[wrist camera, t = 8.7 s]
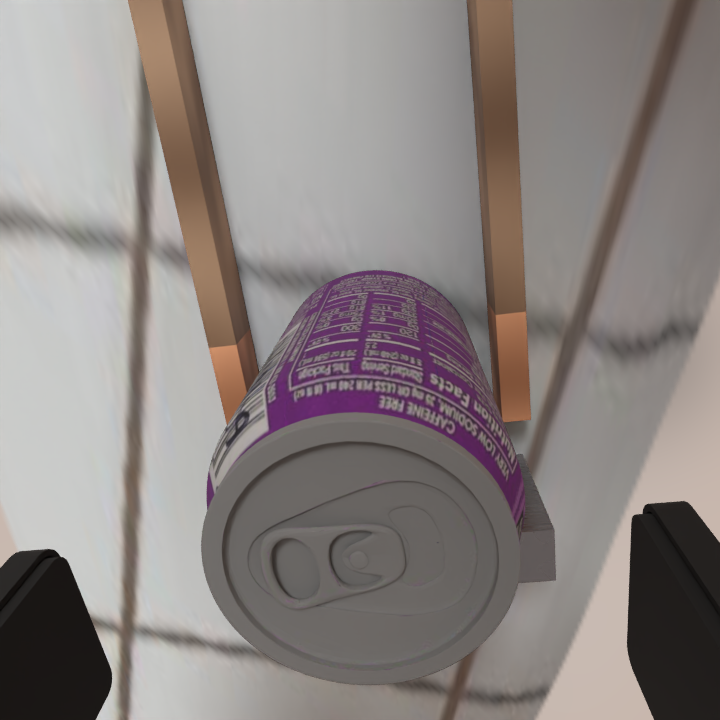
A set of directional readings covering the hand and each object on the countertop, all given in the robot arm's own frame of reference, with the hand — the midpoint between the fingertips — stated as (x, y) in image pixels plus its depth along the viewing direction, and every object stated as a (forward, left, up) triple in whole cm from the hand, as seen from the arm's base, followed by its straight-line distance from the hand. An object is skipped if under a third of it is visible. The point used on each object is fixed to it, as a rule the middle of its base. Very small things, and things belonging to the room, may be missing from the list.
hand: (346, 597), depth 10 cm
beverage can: (+1, 0, -14) cm, 14 cm away
